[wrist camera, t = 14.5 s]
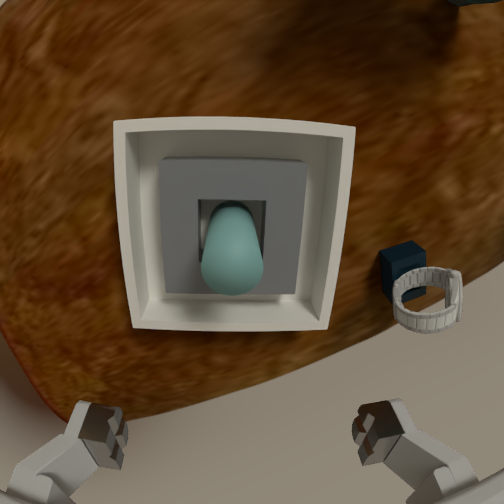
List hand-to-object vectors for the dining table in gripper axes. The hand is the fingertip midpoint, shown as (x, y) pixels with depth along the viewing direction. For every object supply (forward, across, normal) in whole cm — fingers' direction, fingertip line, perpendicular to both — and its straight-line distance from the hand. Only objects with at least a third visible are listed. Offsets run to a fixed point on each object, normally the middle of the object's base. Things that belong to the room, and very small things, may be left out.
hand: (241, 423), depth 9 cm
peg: (+22, 0, 0) cm, 22 cm away
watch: (+23, -19, +5) cm, 30 cm away
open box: (+23, 0, 0) cm, 23 cm away
